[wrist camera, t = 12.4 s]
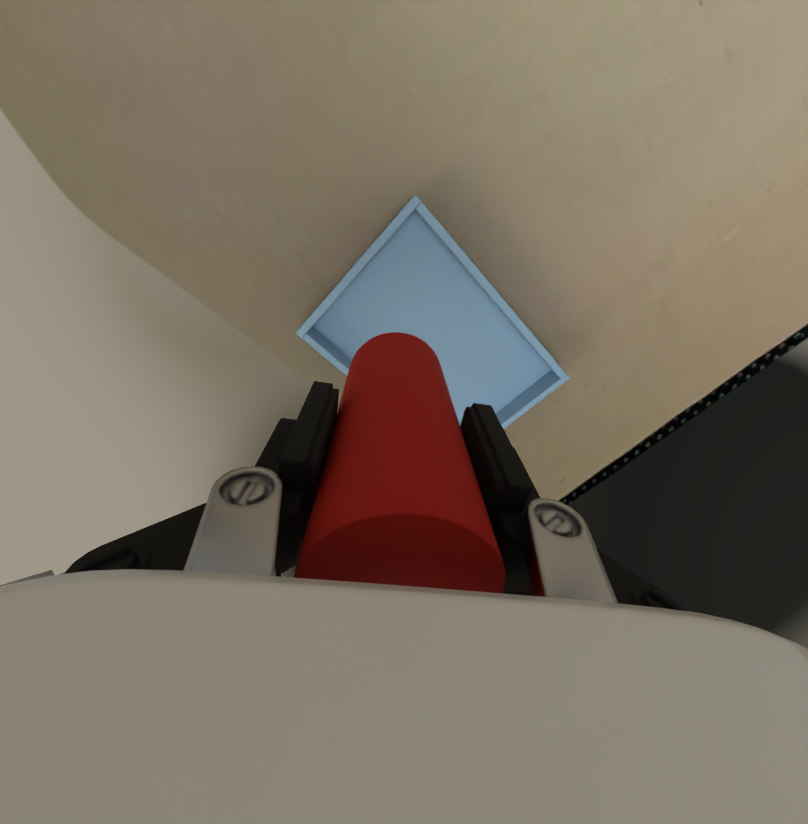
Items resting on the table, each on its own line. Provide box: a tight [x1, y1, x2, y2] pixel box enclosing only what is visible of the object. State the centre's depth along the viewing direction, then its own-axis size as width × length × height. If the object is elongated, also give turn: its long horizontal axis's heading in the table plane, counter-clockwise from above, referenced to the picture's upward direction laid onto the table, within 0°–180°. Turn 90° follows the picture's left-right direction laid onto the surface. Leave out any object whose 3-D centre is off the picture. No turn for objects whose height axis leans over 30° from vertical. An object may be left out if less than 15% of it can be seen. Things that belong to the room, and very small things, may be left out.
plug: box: [294, 332, 505, 593], centre depth 11 cm, size 4×4×10 cm
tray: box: [296, 195, 570, 429], centre depth 31 cm, size 19×13×3 cm
